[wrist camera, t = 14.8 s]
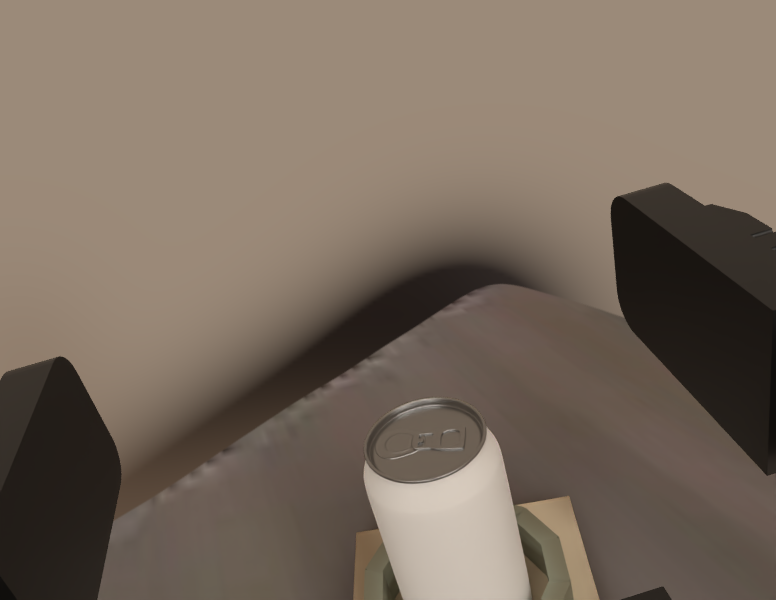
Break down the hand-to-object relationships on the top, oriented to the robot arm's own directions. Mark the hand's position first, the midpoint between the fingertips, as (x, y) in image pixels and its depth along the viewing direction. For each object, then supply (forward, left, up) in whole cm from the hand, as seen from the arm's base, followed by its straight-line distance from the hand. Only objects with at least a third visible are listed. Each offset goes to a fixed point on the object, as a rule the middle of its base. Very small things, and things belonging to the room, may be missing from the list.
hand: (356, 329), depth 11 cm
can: (-2, +17, -28) cm, 33 cm away
